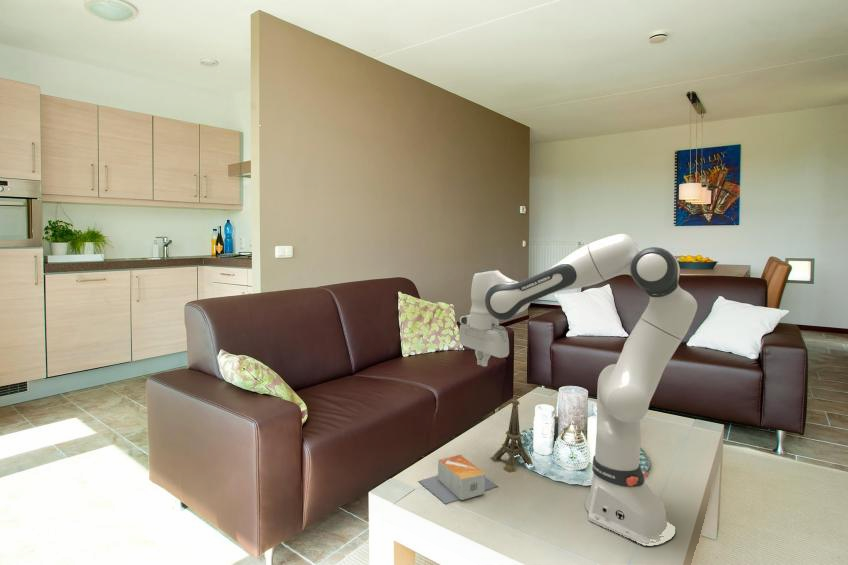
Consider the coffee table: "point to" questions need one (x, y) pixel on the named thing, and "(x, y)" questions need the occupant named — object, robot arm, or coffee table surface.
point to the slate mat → (444, 492)
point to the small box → (461, 477)
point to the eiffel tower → (512, 442)
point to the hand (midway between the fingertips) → (482, 365)
